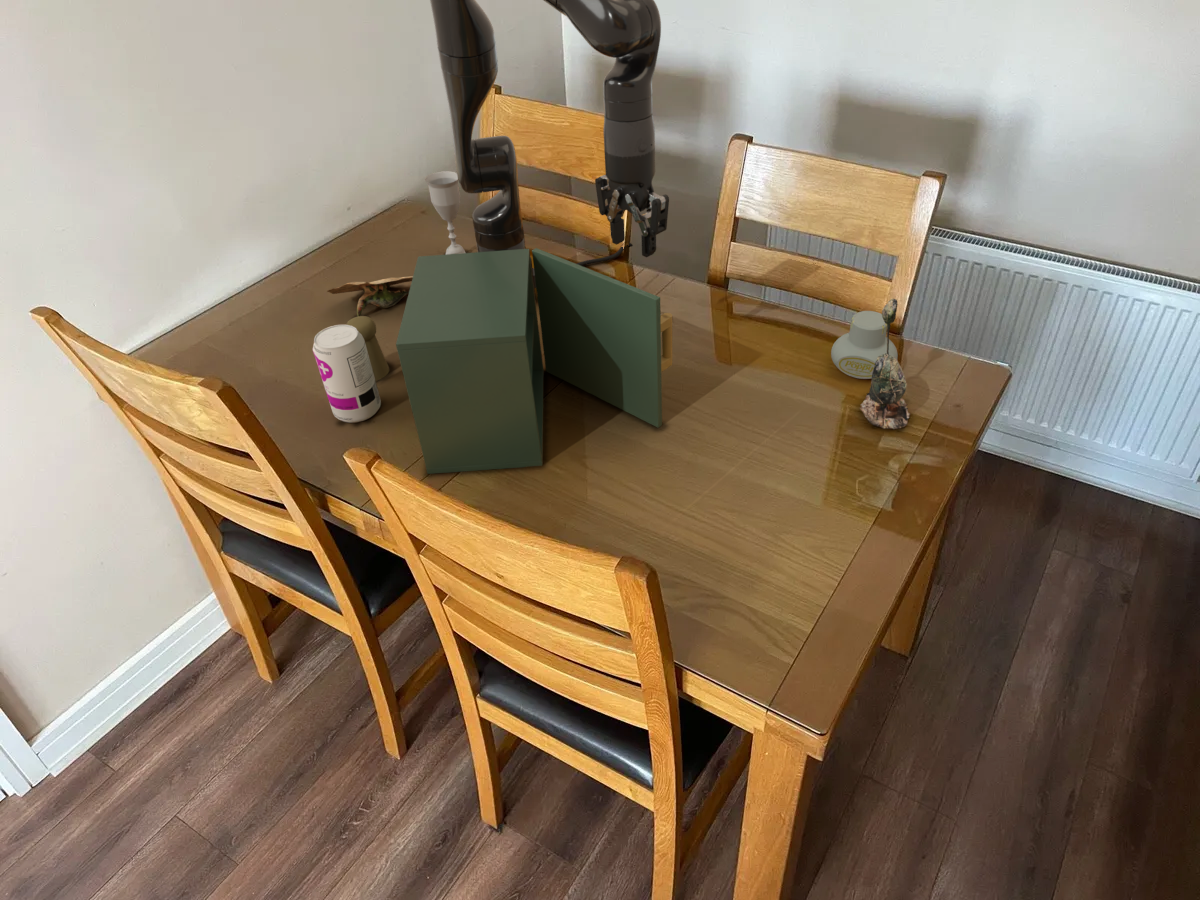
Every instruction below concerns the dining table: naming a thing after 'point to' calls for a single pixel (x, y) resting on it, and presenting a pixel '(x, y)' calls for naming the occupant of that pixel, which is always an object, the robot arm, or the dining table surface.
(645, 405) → the door
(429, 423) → the cupboard
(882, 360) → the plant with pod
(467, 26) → the robot arm
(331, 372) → the supplement can
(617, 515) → the dining table surface
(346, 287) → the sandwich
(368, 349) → the pawn
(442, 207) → the chalice
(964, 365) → the dining table surface
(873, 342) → the air freshener
